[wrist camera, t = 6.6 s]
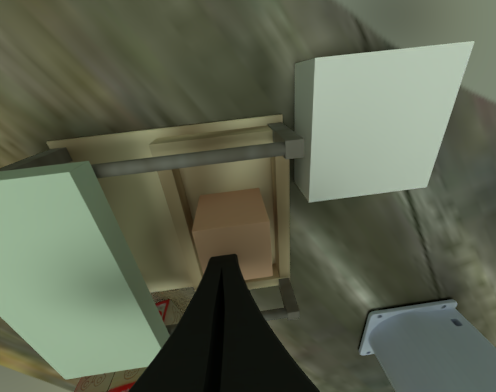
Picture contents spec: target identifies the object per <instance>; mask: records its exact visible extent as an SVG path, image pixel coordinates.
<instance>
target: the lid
mask: <svg viewBox="0 0 496 392" xmlns="http://www.w3.org/2000/svg"><path fill="white" fill-rule="evenodd" d="M0 317H1V318H2V319H4V320H5V321H6V322H7V323H8V324H9V325H10V326H11V327H12V328H13V329H14V330H15V331H16V332H17V333H18V334H19V335H20V336H21V337H22V338H23V339H24V340H25V341H26V342H27V343H28V344H29V345H30V346H31V347H32V348H33V349H34V350H36V351H37V352H38V353H39V354H40V355H41V356H42V357H43V358H44V359H45V360H46V361H47V362H48V363H49V364H50V365H51V366H52V367H53V368H54V369H55V370H56V371H57V372H58V373H59V374H60V375H61V376H62V377H63V378H64V379H72V378H78V377H84V376H91V375H97V374H104V373H110V372H117V371H123V370H129V369H136V368H142V367H148V366H149V364H150V363H151V362H152V360H153V359H154V358H155V356H156V355H157V354H158V352H159V351H160V349H161V348H162V347H163V345H164V344H165V342H166V341H167V339H168V338H169V336H170V335H169V333H168V330H167V328H166V326H165V324H164V322H163V320H162V318H161V315H160V313H159V311H158V309H157V307H156V305H155V302H154V300H153V298H152V296H151V294H150V292H149V289H148V287H147V285H146V283H145V281H144V279H143V276H142V274H141V272H140V270H139V268H138V266H137V264H136V261H135V259H134V257H133V255H132V253H131V251H130V248H129V246H128V244H127V242H126V240H125V238H124V235H123V233H122V231H121V229H120V227H119V225H118V222H117V220H116V218H115V216H114V214H113V212H112V210H111V207H110V205H109V203H108V201H107V199H106V197H105V194H104V192H103V190H102V188H101V186H100V184H99V181H98V179H97V177H96V175H95V173H94V171H93V168H92V166H91V164H90V162H89V161H83V162H75V163H66V164H58V165H50V166H41V167H33V168H24V169H16V170H8V171H0Z"/></svg>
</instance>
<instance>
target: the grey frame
mask: <svg viewBox="0 0 496 392" xmlns="http://www.w3.org/2000/svg"><path fill="white" fill-rule="evenodd" d="M46 143H47V145H48V147H49V149H50V150H47V151H44V152H42V153H39V154H37V155H34V156H31V157H29V158H26V159H23V160H21V161H18V162H15V163H13V164H10V165H8V166H5V167H2V168H0V171H8V170H16V169H24V168H33V167H41V166H50V165H58V164H66V163H75V162H83V161H89V162H90V164H91V166H92V168H93V171H94V173H95V175H96V177H97V179H98V181H99V184H100V186H101V188H102V190H103V192H104V194H105V197H106V199H107V201H108V203H109V205H110V207H111V210H112V212H113V214H114V216H115V218H116V220H117V222H118V225H119V227H120V229H121V231H122V233H123V235H124V238H125V240H126V242H127V244H128V246H129V248H130V251H131V253H132V255H133V257H134V259H135V261H136V264H137V266H138V268H139V270H140V272H141V274H142V276H143V279H144V281H145V283H146V285H147V287H148V289H149V292H150V293H151V292H158V291H165V290H172V289H179V288H186V287H194V290H195V292H196V290H197V288H198V285H199V283H200V281H201V279H202V277H203V271H202V268H201V264H200V260H199V257H198V253H197V249H196V246H195V242H194V238H193V235H192V228H193V223H194V219H195V215H196V210H197V206H198V201H199V197H200V195H206V194H214V193H222V192H230V191H238V190H245V189H253V188H259V189H260V192H261V196H262V199H263V202H264V205H265V208H266V211H267V214H268V217H269V221H270V235H271V252H272V269H273V276H270V277H263V278H256V279H249V280H245V282H246V285H247V287H248V289H256V288H263V287H270V286H277V285H279V289H280V292H281V296H282V300H283V304H284V308H280V309H273V310H266V311H260V312H261V313H262V315H263V317H264V318H265V320H266V321H268V320H275V319H281V318H287V319H288V320H293V319H299V317H300V311H299V308H298V305H297V302H296V298H295V295H294V292H293V289H292V286H291V283H290V188H289V159H295V158H303V157H304V138H303V137H301V136H300V135H298V134H297V133H296V132H294V131H293V130H291V129H290V128H288V127H287V126H286V125H284V124H283V120H282V114H278V115H269V116H261V117H252V118H243V119H234V120H226V121H217V122H208V123H200V124H191V125H182V126H174V127H165V128H156V129H148V130H139V131H130V132H121V133H113V134H104V135H95V136H87V137H78V138H69V139H61V140H52V141H48V142H46ZM176 326H177V324H172V325H166V328H167V330H168V333H169V335H171V333H172V332H173V330H174V329H175V327H176Z"/></svg>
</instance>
